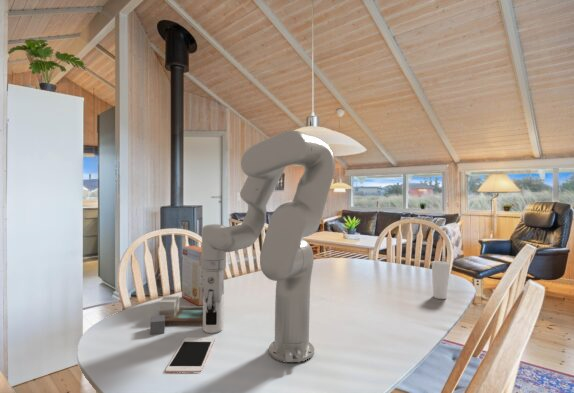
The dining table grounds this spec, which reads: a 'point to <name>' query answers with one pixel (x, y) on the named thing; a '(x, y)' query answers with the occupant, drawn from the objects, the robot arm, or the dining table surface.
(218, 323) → the can
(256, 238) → the robot arm
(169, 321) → the mounting board
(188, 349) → the cell phone
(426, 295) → the dining table surface
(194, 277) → the cracker box
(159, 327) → the block
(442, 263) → the drinking glass
